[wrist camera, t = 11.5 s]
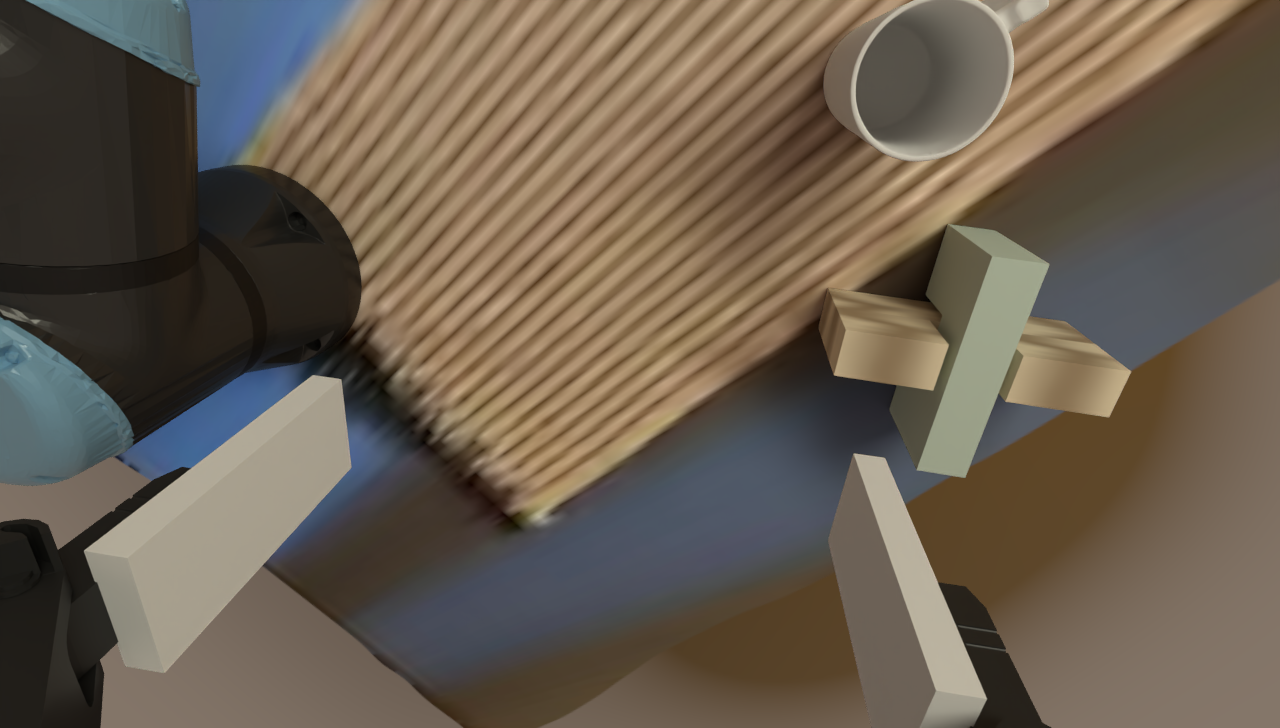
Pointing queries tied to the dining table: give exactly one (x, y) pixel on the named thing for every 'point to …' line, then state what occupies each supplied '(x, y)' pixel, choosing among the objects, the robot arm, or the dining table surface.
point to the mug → (926, 74)
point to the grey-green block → (968, 345)
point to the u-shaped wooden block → (914, 349)
